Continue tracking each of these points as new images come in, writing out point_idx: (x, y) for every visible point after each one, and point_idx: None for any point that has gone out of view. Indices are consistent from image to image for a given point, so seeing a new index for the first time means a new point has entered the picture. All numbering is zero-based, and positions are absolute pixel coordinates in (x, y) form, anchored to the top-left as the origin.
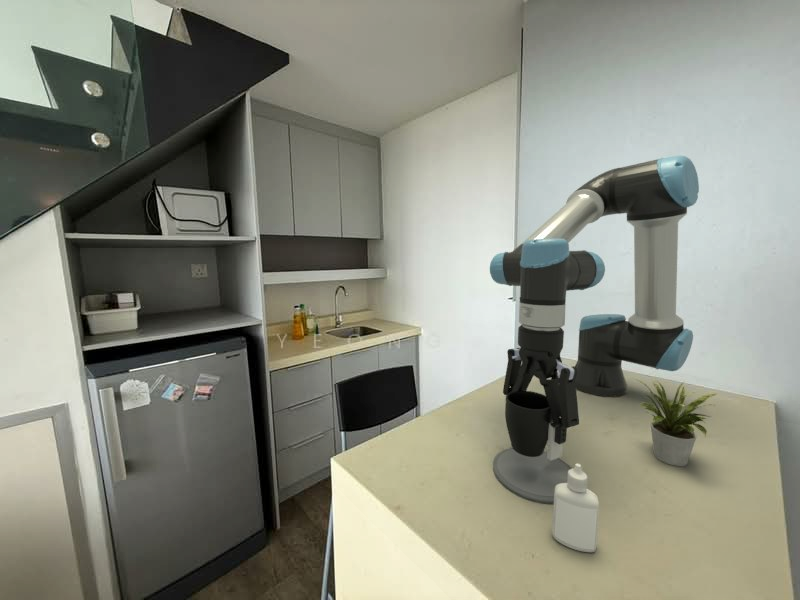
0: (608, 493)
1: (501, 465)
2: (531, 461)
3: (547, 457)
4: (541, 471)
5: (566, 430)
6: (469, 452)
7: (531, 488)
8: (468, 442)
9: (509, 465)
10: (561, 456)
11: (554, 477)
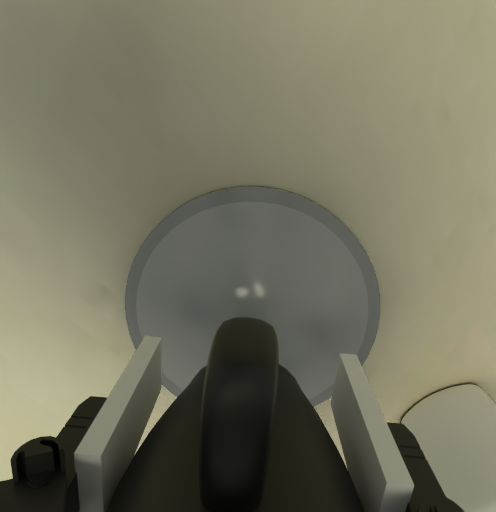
0: (430, 193)
1: (187, 380)
2: (217, 290)
3: (332, 406)
4: (268, 305)
5: (437, 483)
6: (81, 389)
7: (301, 384)
8: (32, 359)
9: (198, 361)
10: (357, 357)
11: (308, 295)
